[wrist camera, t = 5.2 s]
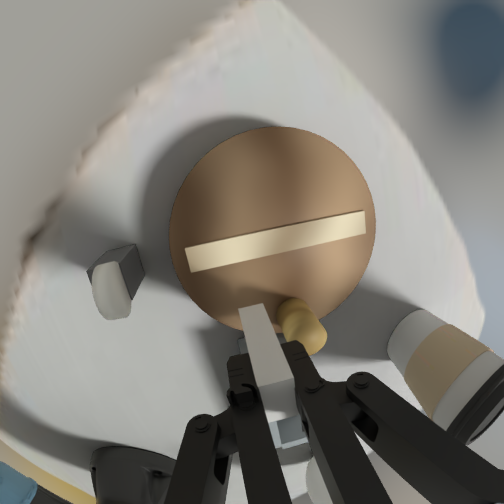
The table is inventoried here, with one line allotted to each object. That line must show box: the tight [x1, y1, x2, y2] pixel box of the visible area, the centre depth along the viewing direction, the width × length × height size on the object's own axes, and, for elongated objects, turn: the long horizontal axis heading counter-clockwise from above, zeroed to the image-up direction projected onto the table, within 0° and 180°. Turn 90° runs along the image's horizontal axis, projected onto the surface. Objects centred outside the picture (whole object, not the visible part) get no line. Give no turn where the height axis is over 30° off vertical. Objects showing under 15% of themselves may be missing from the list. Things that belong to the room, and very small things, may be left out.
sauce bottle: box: [306, 455, 333, 504], centre depth 22 cm, size 8×8×18 cm
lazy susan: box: [169, 127, 376, 356], centre depth 17 cm, size 14×14×5 cm
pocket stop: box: [238, 333, 308, 449], centre depth 23 cm, size 6×14×4 cm, turn 10°
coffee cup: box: [387, 309, 504, 445], centre depth 19 cm, size 9×9×15 cm
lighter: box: [86, 244, 145, 320], centre depth 16 cm, size 2×3×7 cm
